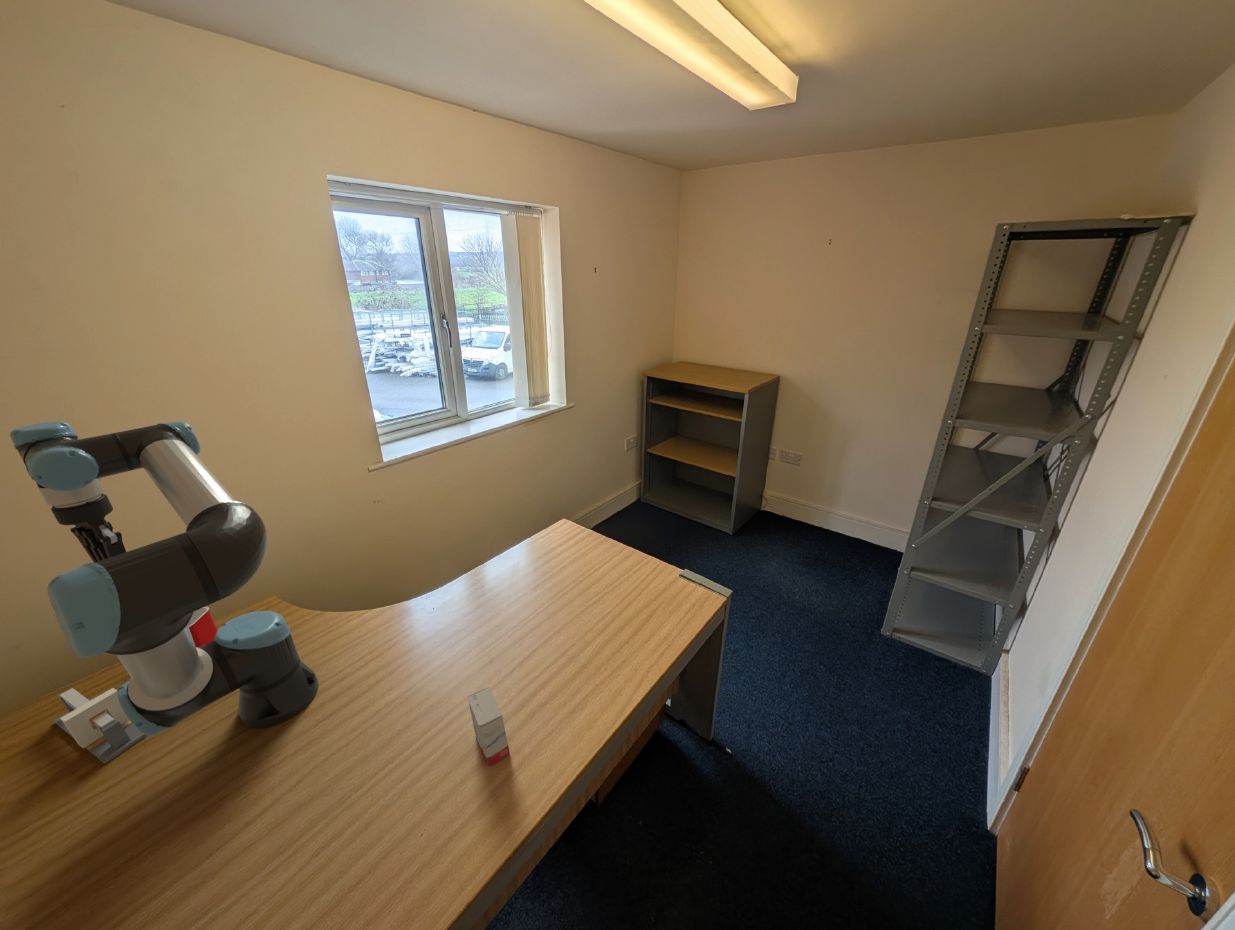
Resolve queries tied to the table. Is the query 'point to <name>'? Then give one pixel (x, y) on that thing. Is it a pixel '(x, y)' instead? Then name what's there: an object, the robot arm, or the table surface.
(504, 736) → the ink box
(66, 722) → the thick cream end plate
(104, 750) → the grey slide rail
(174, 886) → the table surface
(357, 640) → the table surface
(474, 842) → the table surface
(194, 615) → the mug
